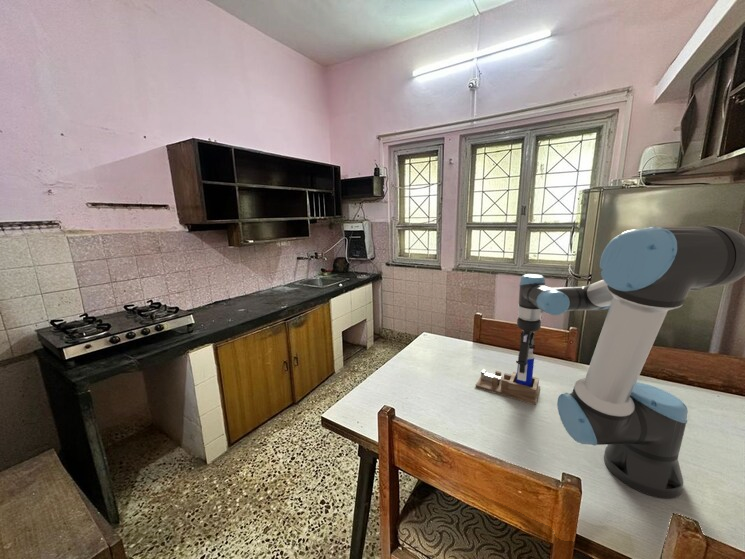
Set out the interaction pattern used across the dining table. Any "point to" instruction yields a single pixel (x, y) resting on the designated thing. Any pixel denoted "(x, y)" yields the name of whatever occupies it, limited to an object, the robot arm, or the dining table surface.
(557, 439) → the dining table surface
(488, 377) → the lock pin
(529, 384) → the beverage can
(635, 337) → the robot arm
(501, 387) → the mount
